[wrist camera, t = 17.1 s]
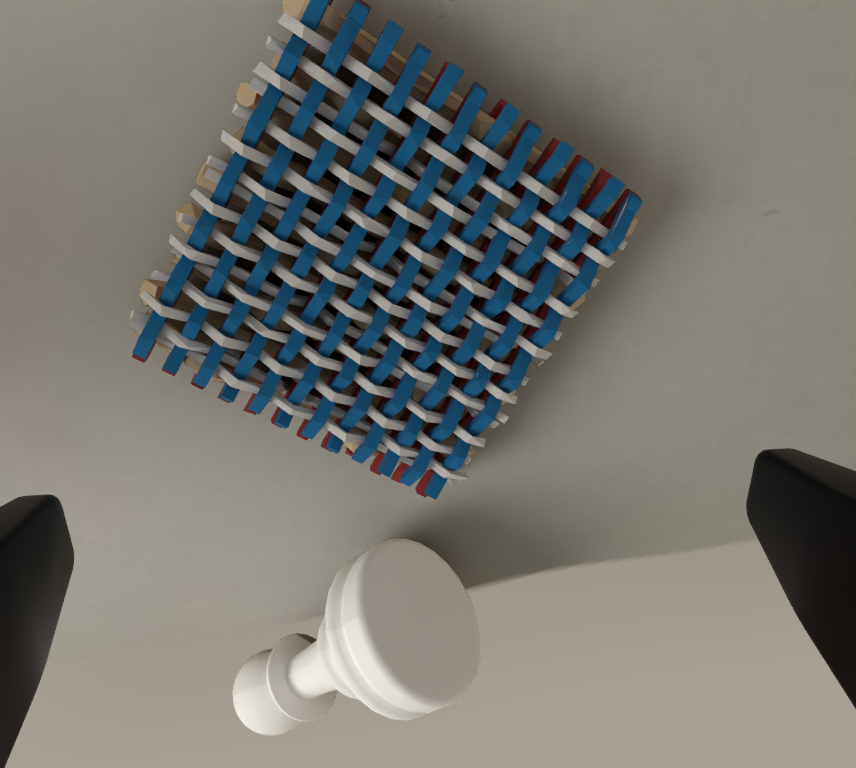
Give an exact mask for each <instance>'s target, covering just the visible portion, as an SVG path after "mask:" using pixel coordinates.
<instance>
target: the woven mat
mask: <svg viewBox="0 0 856 768" xmlns="http://www.w3.org/2000/svg"><path fill="white" fill-rule="evenodd" d="M282 1H283V10H284V14H283V15H282V16H281V18H280V19H279V20H278V23H279V24H281V25H282V26H284V27H285V28H287V29H288V30H290V31H291V32H293V33H294V34H293V35H292V37H291V39H290V40H289V42H288V44H286V43H284V42H280V41H278V40H277V39H275V38H273V37H272V36H270V35H269V36H268V39H267V42H266V45H265V47H266V48H268V49H270V50H272V51H273V52H275V55H274V57H273V59H272V62H271V64H270V68H272V69H273V70H275V71H273V70H271V69H270V68H269V67H267V66H266V65H265V64H263V63H262V62H261V61H260V62H259V64H258V65H257V66H256V68H255V69H254V70H253V72H254V73H256V74H257V75H259V76H260V77H262V78H263V79H265V80H266V81H268V82H269V84H268V85H266V84H265V83H263V82H261V81H260V80H258V79H257V78H255V77H254V76H253V78H252V80H251V82H250V84H248V83H245V82H243V81H242V83H241V85H240V87H239V90H238V92H237V94H236V99H237V101H238V103H237V102H235V105H234V108H233V111H232V113H233V114H235V115H236V116H238V117H240V118H242V119H244V120H246V121H248V123H247V125H246V128H244V127H242V128H241V129H240V130H239V131H238V132H236V133H235V134H234V135H233V136H231V135H230V134H228V133H227V132H225V131H224V130H223V129H222V134H221V141H222V142H224V143H225V144H226V145H228V146H229V147H230V152H231V153H232V154H233V156H232V158H231V160H230V162H229V163H227V162H225V161H223V160H220V159H218V158H216V157H214V156H212V155H208V158H207V160H206V161H205V163H204V165H203V166H202V168H201V170H200V172H199V174H198V177H197V180H196V184H198V185H200V186H202V187H203V188H205V189H207V190H209V191H211V192H212V193H213V195H212V197H211V199H210V200H209V199H208V198H206V197H205V196H204V195H203V194H201V193H200V192H199V191H198V190H196V189H195V188H194V190H193V191H192V192H191V194H190V196H191V197H192V198H194V199H195V200H196V201H197V202H198V203H199V204H200V205H202V206H203V207H204V208H205V209H204V211H202V210H200V209H199V208H198V207H197V206H195V205H194V204H193V203H192V202H190V203H188V204H186V205H184V206H183V207H181V208H179V209H178V210H176V211H175V212H176V221H177V225H178V226H179V227H180V228H181V229H183V230H184V231H185V232H186V233H187V234H188V235H190V238H189V241H188V243H187V244H186V243H185V242H183V241H182V240H180V239H179V238H177V237H176V236H174V235H173V234H171V236H170V239H169V243H170V244H171V245H172V246H173V248H172V249H171V251H170V252H171V253H173V254H175V256H174V258H173V260H172V263H174V264H176V267H175V269H174V270H173V272H172V273H169V272H164V271H160V270H154V272H153V273H152V274H151V275H150V277H152V278H155V279H158V280H162V281H156V280H146V279H144V281H143V283H142V286H141V288H140V291H139V294H140V297H141V299H142V301H143V304H144V305H146V306H150V307H151V308H153V309H154V310H153V312H152V314H151V313H149V312H148V311H147V312H146V313H145V314H143V313H140V312H137V311H134V310H132V312H131V315H130V317H129V318H130V319H132V322H131V324H130V325H129V327H130V328H132V329H134V330H136V332H135V333H136V334H138V335H139V339H138V341H137V343H136V346H135V348H134V350H133V353H132V354H133V355H132V357H133V358H135V359H137V360H139V361H141V362H143V363H144V362H145V361H146V360H147V359H148V357H149V355H150V353H151V351H152V349H153V347H154V345H155V344H156V345H158V346H159V347H161V348H163V349H165V350H167V351H168V352H170V355H169V357H168V358H167V360H166V362H165V364H164V366H163V368H162V370H163V371H165V372H167V373H169V374H171V375H173V376H175V374H176V373H177V371H178V369H179V367H180V365H181V363H182V361H183V362H184V363H185V364H186V365H187V366H188V367H189V368H190V369H191V370H193V371H194V372H195V375H194V377H193V379H192V381H191V383H190V384H192V385H194V386H196V387H198V388H200V389H202V390H203V388H205V387H206V385H207V384H208V382H209V381H214V382H222V383H225V385H224V387H223V389H222V390H221V392H220V394H219V396H218V398H220V399H222V400H224V401H226V402H228V403H229V402H230V403H231V402H234V400H235V398H236V396H237V394H238V392H239V390H240V389H241V390H244V391H248V392H251V393H253V395H252V396H251V398H250V400H249V402H248V403H247V405H246V407H245V408H244V410H243V411H246V412H249V413H252V414H255V415H256V414H257V413H258V414H260V413H261V411H262V410H263V409H264V407H265V406H266V405H267V403H268V402H269V401H271V402H273V403H274V404H276V405H277V406H278V408H277V410H276V411H275V413H274V415H273V417H272V418H271V422H272V423H273V424H275V425H277V426H279V427H281V428H284V429H285V428H288V427H289V424H290V422H291V419H292V417H293V416H297V417H300V418H304V419H305V420H304V421H303V423H302V425H301V426H300V428H299V429H298V432H297V435H296V436H299V437H301V438H303V439H305V440H307V439H308V438H310V439H313V438H314V437H315V435H316V434H317V433H318V432H319V431H320V430H321V429H322V427H325V428H326V429H327V430H329V432H328V433H327V435H326V436H325V438H324V440H323V441H322V444H321V447H323V448H325V449H327V450H329V451H331V452H332V451H333V452H335V453H339V452H340V449H341V447H342V445H343V443H344V444H345V445H346V446H347V450H346V452H345V453H346V454H348V455H350V456H352V458H351V459H353V460H355V461H358V462H360V463H363V462H364V461H365V460H366V459H367V458H368V457H369V456H376V458H375V459H374V461H373V463H372V464H371V466H370V471H372V472H374V473H376V474H378V475H380V474H381V473H382V474H384V475H386V476H388V477H390V476H391V474H392V472H393V470H394V468H395V466H396V464H397V463H399V464H400V465H399V466H398V467H397V469H396V470H395V472H394V473H393V475H392V477H391V479H393V480H395V481H397V482H399V483H403V484H405V485H408V486H411V485H412V484H413V483H414V482H415V481H416V480H418V479H419V478H420V477H421V476H422V475H423V477H422V479H421V480H420V482H419V483H418V485H417V486H416V488H415V489H416V492H417V494H419V495H421V496H424V497H427V495H428V496H430V497H432V498H434V499H437V497H438V495H439V494H440V492H441V490H442V488H443V486H444V485H445V483H446V481H447V482H448V483H450V484H451V485H452V486H453V485H454V484H455V482H456V481H457V480H465V479H468V476H467V475H466V474H465V473H461V472H457V471H454V470H457V469H459V468H460V467H461V465H462V464H463V463H464V464H466V465H468V464H469V463H470V461H471V460H472V458H471V457H470V456H471V455H473V454H474V453H476V451H475V449H474V446H473V445H476V446H480V447H485V441H486V439H485V438H480V437H477V436H478V435H479V434H480V433H481V432H482V431H483V430H484V429H485V428H487V427H488V426H490V427H492V428H494V429H495V428H496V427H497V426H498V425H499V424H500V423H499V422H498V421H496V420H495V418H496V419H498V420H499V421H501V422H502V423H504V424H505V423H506V421H507V420H508V418H509V417H508V416H506V415H505V414H504V413H502V412H501V411H500V410H499V408H500V406H502V405H504V404H506V403H508V402H510V403H513V404H516V401H517V398H518V397H517V396H514V395H515V392H516V389H517V388H518V386H519V385H520V383H521V384H522V385H524V386H526V384H527V382H528V381H529V379H530V378H528V377H527V376H525V373H526V371H527V368H528V366H529V363H530V361H532V362H533V363H534V365H535V366H536V367H538V366H540V365H541V364H542V363H544V361H543V359H545V360H546V359H548V358H549V357H550V356H551V355H552V354H553V353H550V352H548V351H545V350H543V349H542V348H543V347H544V346H546V345H547V344H548V343H549V342H551V341H552V340H553V339H556V340H557V341H558V340H559V338H560V336H561V335H562V332H560V331H559V330H558V328H559V325H560V322H561V320H562V317H563V315H564V316H566V317H569V318H573V317H574V316H575V315H577V314H578V313H579V312H577V311H575V309H576V308H577V307H578V306H579V305H581V304H582V303H583V302H584V301H585V300H586V298H585V294H586V292H587V290H589V288H590V286H592V287H593V288H594V287H595V286H596V285H597V283H598V282H599V281H600V280H599V279H597V278H596V277H595V275H596V272H597V271H599V270H600V269H602V268H603V266H604V267H606V268H609V267H610V266H611V265H612V264H613V263H615V261H614V260H612V259H611V258H609V257H608V255H610V254H611V253H613V252H614V251H616V249H617V248H618V249H620V250H621V251H623V249H624V248H625V246H626V245H627V243H628V242H627V241H625V240H624V238H625V237H627V236H629V235H632V234H633V232H634V229H635V227H636V225H637V222H638V219H637V218H636V217H634V216H635V213H636V212H637V210H638V209H639V207H640V206H641V204H642V200H641V198H639V196H638V195H637V194H635V193H634V192H632V191H631V190H629V189H627V188H626V190H625V191H624V192H623V194H622V195H621V196H620V198H619V199H618V200H617V202H616V203H614V202H613V201H614V200H615V199H616V198H617V196H618V195H619V193H620V192H621V190H622V189H623V187H624V186H625V184H624V183H622V182H621V181H619V180H618V179H616V178H615V177H612V175H611V174H609V173H608V172H606V171H605V170H604V169H602V168H601V169H600V171H599V172H598V174H597V176H596V177H595V179H594V181H593V182H592V184H591V186H589V185H588V184H586V181H587V179H588V178H589V176H590V174H591V173H592V171H593V170H594V167H593V165H592V164H591V163H590V162H589V161H588V160H586V159H585V158H583V157H582V156H580V155H576V157H575V158H574V160H573V161H572V163H571V164H570V166H569V167H568V169H567V170H566V169H565V168H563V166H564V165H565V164H566V162H567V160H568V159H569V157H570V156H571V154H572V153H573V151H574V150H575V149H574V148H572V147H571V146H569V145H568V144H567V143H565V142H564V141H561V142H559V141H558V140H557V139H555V138H554V137H553V139H552V140H551V142H550V143H549V144H548V146H547V147H546V149H545V150H544V152H543V153H542V152H540V151H539V150H537V149H536V148H534V145H535V143H536V141H537V139H538V138H539V137H540V135H541V134H542V129H541V128H540V127H539V126H537V125H536V124H535V123H533V122H532V121H530V120H526V122H525V123H524V125H523V127H522V128H521V130H520V131H519V133H518V134H517V135H516V134H514V133H513V132H511V131H510V130H509V129H510V128H511V126H512V125H513V123H514V122H515V120H516V118H517V117H518V115H519V114H520V112H521V111H520V110H518V109H517V108H515V107H514V106H512V105H511V104H509V103H508V102H506V101H505V100H503V99H501V100H500V101H499V102H498V104H497V105H496V106H495V107H494V109H493V110H492V111H491V112H490V114H489V115H487V114H486V113H484V112H483V111H481V110H479V109H480V107H481V105H482V104H483V102H484V100H485V98H486V96H487V93H488V91H487V90H486V89H485V88H483V87H482V86H480V85H479V84H478V83H476V82H474V83H473V85H472V87H471V88H470V90H469V92H468V93H467V95H466V96H465V98H464V99H463V98H462V97H460V96H459V95H457V94H456V93H455V92H453V91H452V90H453V88H454V87H455V85H456V84H457V82H458V80H459V79H460V77H461V76H462V74H463V72H464V71H463V70H461V69H460V68H458V67H457V66H455V65H454V64H452V63H451V62H450V63H448V62H447V61H446V62H445V64H444V66H443V68H442V69H441V71H440V73H439V74H438V76H437V78H436V79H434V78H433V77H431V76H430V75H428V74H427V73H425V72H424V71H423V70H422V69H423V67H424V65H425V63H426V61H427V59H428V57H429V55H430V53H431V51H430V50H429V49H427V48H426V47H424V46H423V45H421V44H420V43H419V42H418V43H417V45H416V47H415V48H414V50H413V52H412V54H411V55H410V57H409V59H408V60H407V59H405V58H404V57H402V56H401V55H399V54H398V53H396V52H395V51H394V50H393V48H394V46H395V45H396V43H397V41H398V39H399V38H400V36H401V34H402V32H403V31H404V29H403V28H402V27H400V26H399V25H397V24H396V23H394V22H393V21H391V20H389V21H388V23H387V25H386V26H385V28H384V30H383V32H382V34H381V35H380V37H379V39H376V38H375V37H373V36H372V35H370V34H369V33H367V32H366V31H365V30H363V29H362V28H361V27H362V25H363V23H364V21H365V19H366V17H367V15H368V13H369V11H370V9H371V7H370V6H369V5H367V4H366V3H364V2H363V1H361V0H355V2H354V4H353V6H352V8H351V10H350V12H349V14H348V15H347V17H344V16H343V15H341V14H340V13H339V12H338V11H336V10H335V9H334V8H332V7H331V4H332V2H333V0H282ZM310 44H311V45H312V46H314V47H315V48H317V49H318V50H320V51H321V52H323V53H324V54H326V57H325V59H324V61H323V63H322V65H321V67H320V66H319V65H317V64H316V63H314V62H313V61H311V60H310V59H308V58H307V57H305V56H304V55H305V53H306V51H307V49H308V47H309V45H310ZM341 65H343V66H344V67H346V68H347V69H349V70H350V71H352V72H353V73H355V74H356V75H358V76H357V78H356V80H355V82H354V83H353V85H352V87H349V86H348V85H346V84H345V83H343V82H342V81H341V80H339V79H338V78H336V77H335V76H336V74H337V72H338V70H339V68H340V66H341ZM291 82H292V83H291ZM293 83H294V84H295V85H294V84H293ZM296 85H297V86H298V87H297V86H296ZM373 86H375V87H376V88H378V89H379V90H381V91H382V92H384V93H385V94H387V95H388V96H387V98H386V100H385V101H384V103H383V105H382V107H381V106H380V105H378V104H376V103H375V102H372V101H370V100H369V99H367V96H368V95H369V93H370V91H371V89H372V87H373ZM299 87H300V88H299ZM302 89H303V90H302ZM285 93H286V94H288V95H290V96H291V97H293V98H295V99H296V100H298V101H300V102H301V103H302V104H301V106H298V105H297V104H295V103H293V102H292V101H290V100H289V99H287V98H286V97H284V96H283V95H284V94H285ZM403 106H405V107H406V108H408V109H409V110H411V111H412V112H414V113H415V116H414V118H413V119H412V121H411V123H410V124H409V125H408V124H407V123H405V122H404V121H402V120H401V119H399V118H398V117H397V115H398V114H399V113H400V111H401V109H402V108H403ZM316 112H318V113H319V114H321V115H322V116H324V117H326V118H327V119H329V120H330V121H332V123H331V125H330V127H329V126H328V125H326V124H325V123H323V122H322V121H320V120H319V119H317V118H316V117H315V116H314V115H315V113H316ZM431 125H433V126H435V127H436V128H438V129H439V130H441V131H442V132H443V134H442V135H441V137H440V139H439V140H438V142H437V143H436V142H434V141H433V140H431V139H430V138H428V137H427V134H428V132H429V129H430V127H431ZM347 131H348V132H350V133H351V134H353V135H354V136H356V137H358V138H359V139H361V140H362V142H361V144H358V143H356V142H354V141H352V140H350V139H349V138H347V137H345V135H346V133H347ZM264 132H266V133H268V134H269V135H271V136H272V137H274V138H275V139H276V140H278V141H279V142H281V143H280V145H279V147H278V149H277V150H276V152H275V151H274V150H273V149H271V148H270V147H269V146H267V145H266V144H265V143H263V142H262V141H261V138H262V136H263V134H264ZM461 144H462V145H463V146H465V147H466V148H468V150H467V152H466V155H465V157H464V160H462V159H460V158H459V157H457V156H456V155H454V154H455V152H456V151H457V150H458V149H459V148H460V146H461ZM378 150H379V151H381V152H383V153H385V154H387V155H389V156H391V157H390V159H389V161H388V162H386V161H385V160H383V159H382V158H380V157H379V156H377V155H376V153H377V151H378ZM295 152H297V153H299V154H301V155H303V156H305V157H307V158H309V159H311V162H310V164H309V166H308V168H307V167H306V166H304V165H302V164H299V163H297V162H294V161H291V158H292V156H293V155H294V153H295ZM487 161H488V162H489V163H490V164H492V165H493V166H495V167H496V168H495V170H494V172H493V173H492V175H491V176H490V178H489V177H488V176H486V175H484V174H483V172H484V170H485V167H486V164H487ZM247 165H249V166H250V167H251V168H253V169H254V170H255V171H257V172H258V173H259V174H261V175H262V176H263V177H262V179H261V181H260V183H259V184H258V183H257V182H256V181H254V180H253V179H252V178H250V177H249V176H248V175H246V174H245V173H244V171H245V169H246V167H247ZM405 166H406V167H407V168H409V169H410V170H411V171H413V172H414V173H415V174H414V176H413V177H410V176H408V175H407V174H405V173H403V170H404V168H405ZM344 168H345V169H344ZM327 169H328V170H329V171H331V172H332V173H333V174H335V175H336V176H337V177H339V178H340V181H339V183H338V184H337V185H335V184H334V183H332V182H330V181H329V180H327V179H326V178H324V177H322V176H323V175H324V173H325V172H326V170H327ZM516 181H517V182H519V183H520V184H519V185H518V186H517V187H516V188H515V189H514V190H513V191H512V192H510V191H508V190H509V189H510V188H511V187H512V186H513V185H514V184H515V182H516ZM277 186H278V187H281V188H283V189H286V190H289V191H292V192H294V193H293V195H292V197H291V199H289V198H287V197H284V196H282V195H280V194H277V193H275V192H274V191H275V189H276V187H277ZM435 187H437V188H438V189H440V190H441V191H443V192H444V193H443V195H442V197H441V196H439V195H438V194H437V193H435V192H434V191H433V190H434V188H435ZM354 188H356V189H358V190H360V191H362V192H364V193H367V194H369V195H368V197H367V199H366V200H365V202H363V201H362V200H360V199H358V198H357V197H355V196H354V195H352V192H353V190H354ZM540 197H542V198H543V199H545V200H546V202H545V203H544V205H543V206H542V208H541V209H540V211H539V210H537V209H536V208H537V207H538V203H539V200H540ZM473 198H474V199H473ZM309 199H311V200H313V201H315V202H317V203H318V204H320V205H322V206H323V207H324V209H323V211H322V213H321V214H320V215H318V214H316V213H315V212H313V211H311V210H309V209H308V208H306V207H305V206H306V205H307V203H308V201H309ZM229 202H230V203H232V204H234V205H235V206H237V207H239V208H241V209H242V210H244V213H243V215H242V214H239V213H236V212H234V211H231V210H229V209H226V208H227V206H228V203H229ZM459 203H461V204H463V205H464V206H466V207H467V208H469V210H468V212H467V213H466V212H464V211H462V210H460V209H459V208H457V207H458V205H459ZM385 205H386V206H388V207H389V208H391V209H392V210H393V211H394V213H393V215H392V217H391V218H390V217H388V216H387V215H385V214H383V213H382V212H380V211H381V210H382V208H383V207H384V206H385ZM568 215H569V216H570V218H569V220H568V221H567V223H566V224H565V225H564V226H562V225H561V224H560V223H561V222H562V221H563V220H565V219H566V218H567V217H568ZM339 217H342V218H344V219H345V220H347V221H349V222H350V223H351V224H350V226H349V227H348V229H347V230H346V231H345V230H343V229H342V228H340V227H338V226H337V225H335V223H336V221H337V220H338V218H339ZM221 218H222V219H225V220H228V221H231V222H234V223H236V224H238V225H237V226H235V225H233V224H229V223H226V222H222V221H220V220H221ZM259 219H260V220H262V221H264V222H265V223H267V224H269V225H271V226H272V227H274V230H273V232H272V234H271V233H269V232H268V231H267V230H265V229H264V228H263V227H261V226H260V225H259V224H258V223H257V222H258V220H259ZM489 222H490V223H492V224H491V226H488V224H489ZM410 223H414V224H416V225H418V226H420V227H422V230H421V232H420V233H419V235H418V234H416V233H415V232H413V231H411V230H410V229H408V227H409V225H410ZM519 228H520V229H522V230H523V231H522V230H520V229H519ZM590 230H591V231H593V232H594V233H593V234H592V235H591V237H590V238H589V239H588V241H586V240H587V238H588V234H589V231H590ZM524 231H525V232H524ZM252 232H253V233H254V234H255V235H257V236H258V237H259V238H260V239H262V240H263V241H264V242H263V241H262V240H260V239H258V238H256V237H254V236H253V235H251V233H252ZM366 233H369V234H371V235H372V236H374V237H376V238H377V239H378V241H377V243H372V242H367V241H363V239H364V237H365V235H366ZM333 235H334V236H335V237H337V238H339V239H340V241H339V240H338V239H336V238H335V237H334V236H333ZM289 236H290V237H292V238H294V239H295V240H297V241H299V242H301V243H302V244H303V246H302V248H301V247H298V246H295V245H292V244H290V243H287V242H286V241H287V239H288V237H289ZM511 236H512V237H514V238H515V239H517V240H519V242H518V243H517V242H516V241H514V240H512V239H510V238H511ZM440 239H442V240H444V241H445V242H444V243H443V244H442V245H441V246H440V248H439V249H438V248H437V247H436V246H435V245H436V244H437V243H438V242H439V241H440ZM206 246H209V247H212V248H216V249H219V250H223V251H224V252H223V254H222V256H221V258H220V257H217V256H213V255H210V254H207V253H203V251H204V250H205V248H206ZM358 249H360V250H358ZM361 250H363V251H361ZM396 250H398V251H399V252H401V253H403V254H404V255H405V257H404V258H403V260H402V261H400V260H399V259H397V258H396V257H395V256H394V255H393V254H394V252H395V251H396ZM364 251H367V252H370V254H367V253H366V252H364ZM283 252H284V253H283ZM285 253H287V254H290V255H293V256H296V258H295V259H294V258H292V257H290V256H288V255H287V254H285ZM316 255H317V256H318V257H319V258H320V259H319V258H318V257H317V256H316ZM464 255H465V256H467V257H469V258H472V259H473V260H472V261H471V263H470V264H469V265H467V264H466V263H464V262H462V259H463V256H464ZM238 257H242V258H244V259H246V260H248V261H250V262H251V263H253V264H255V265H254V267H253V269H252V271H251V272H248V271H246V270H244V269H243V268H241V267H239V266H237V265H235V263H236V261H237V259H238ZM322 260H323V261H324V262H325V263H324V262H323V261H322ZM571 261H572V262H571ZM386 263H387V264H388V265H389V266H388V265H386ZM311 266H312V267H313V268H315V269H316V270H317V271H319V272H320V273H319V272H317V271H315V270H313V269H312V268H310V267H311ZM391 267H392V268H391ZM420 267H421V268H422V269H423V270H425V271H426V273H425V275H424V276H423V275H422V274H420V273H418V271H419V269H420ZM494 271H495V272H496V273H497V275H496V276H495V278H494V279H491V278H489V276H490V275H491V274H492V273H493V272H494ZM269 272H270V273H271V274H273V275H275V276H277V277H279V278H281V279H282V282H281V283H280V285H279V287H278V286H276V285H274V284H272V283H270V282H268V281H266V280H265V279H266V277H267V275H268V274H269ZM342 273H345V274H348V275H352V276H355V277H356V278H355V279H354V278H351V277H348V276H346V275H343V274H342ZM191 274H193V275H195V276H197V277H199V278H200V279H202V280H204V281H206V282H207V285H206V287H205V288H204V290H203V292H201V291H200V290H199V289H197V288H196V287H195V286H194V285H192V284H191V283H190V282H189V281H188V280H189V278H190V276H191ZM340 284H341V285H340ZM342 285H344V286H347V287H350V288H349V289H347V288H346V287H344V286H342ZM373 285H375V286H377V287H379V288H381V289H382V290H383V291H382V292H381V293H378V292H377V291H376V290H375V289H373V288H372V287H373ZM447 285H451V286H454V289H453V290H452V292H451V293H450V292H448V291H447V290H445V289H444V288H445V287H446V286H447ZM515 286H516V287H518V288H520V291H519V292H518V294H516V293H514V288H515ZM297 288H298V289H301V290H303V291H304V292H306V293H308V294H310V297H307V296H302V295H296V294H294V293H295V291H296V289H297ZM221 290H222V291H223V292H225V293H227V294H229V295H230V296H232V297H234V298H236V300H235V302H234V304H230V303H227V302H224V301H220V300H217V299H216V298H217V297H218V295H219V293H220V291H221ZM270 295H271V296H272V297H271V296H270ZM474 296H476V297H478V298H480V300H479V302H478V303H477V305H476V306H475V308H473V307H471V306H470V303H471V301H472V299H473V297H474ZM367 297H369V298H370V299H371V300H372V301H373V303H372V304H371V305H370V304H369V303H368V302H367V301H366V299H367ZM400 300H402V301H404V302H405V303H407V304H409V305H408V307H407V308H406V309H405V308H403V307H400V306H397V305H396V304H397V303H398V302H399V301H400ZM326 304H328V305H330V306H332V307H334V308H335V309H336V311H335V313H334V314H333V315H332V314H331V313H330V312H329V311H328V310H326V309H325V308H324V306H325V305H326ZM299 306H301V307H303V308H301V307H299ZM248 311H250V312H251V313H252V314H253V315H254V316H256V317H257V318H258V319H259V321H258V320H257V319H256V318H254V317H253V316H252V315H251V314H249V313H248ZM502 311H503V313H502V314H501V315H500V316H499V317H498V318H497V319H496V320H495V321H494V322H493V321H492V320H491V319H492V318H493V317H494V316H496V315H497V314H499V313H500V312H502ZM317 315H318V316H319V317H320V318H319V317H318V316H317ZM395 315H396V316H395ZM426 315H428V316H430V317H432V318H433V319H434V320H433V321H432V323H431V322H430V321H429V320H427V319H426ZM397 316H399V317H401V318H399V317H397ZM168 318H172V319H176V320H181V321H185V322H186V324H185V326H184V328H183V330H180V329H179V328H177V327H175V326H173V325H171V324H170V323H168V322H167V320H168ZM350 321H351V322H352V323H354V324H355V325H356V326H357V328H354V327H352V326H350V325H349V323H350ZM524 323H525V324H526V325H528V327H527V328H526V329H525V331H524V332H523V334H522V335H519V333H520V331H521V329H522V327H523V325H524ZM421 327H422V328H423V329H424V330H425V331H426V332H424V331H422V330H420V328H421ZM200 329H201V330H202V331H204V332H205V333H206V334H207V335H208V336H209V337H211V338H212V339H213V342H212V344H211V345H210V344H206V343H202V342H198V341H197V340H196V339H195V338H196V336H197V334H198V332H199V330H200ZM273 329H278V330H285V331H289V333H288V334H287V333H283V332H278V331H274V330H273ZM452 330H454V331H456V332H458V333H457V335H456V336H455V337H454V336H451V335H449V333H450V332H451V331H452ZM306 337H309V338H310V339H312V340H314V341H316V342H317V343H316V344H315V346H314V347H313V348H311V347H310V346H309V345H307V344H306V343H305V342H304V341H305V339H306ZM379 338H384V339H387V341H386V342H385V344H383V343H382V342H380V341H379V340H378V339H379ZM447 344H449V346H448V345H447ZM404 347H405V348H406V349H410V350H412V351H413V352H412V353H411V355H410V356H409V358H408V360H407V361H406V360H405V359H404V358H402V357H401V354H402V351H403V349H404ZM227 348H232V349H236V350H241V351H243V352H242V354H241V356H240V358H237V357H235V356H233V355H231V354H229V353H227V352H225V351H226V349H227ZM333 351H335V352H337V353H339V354H341V355H343V357H342V359H341V360H340V361H337V360H333V359H330V358H328V357H329V356H330V354H331V353H332V352H333ZM300 352H301V353H302V354H303V355H304V356H305V357H304V356H303V355H302V354H301V353H300ZM258 359H260V360H261V361H262V362H263V363H264V364H265V365H267V366H268V367H269V368H268V369H267V371H266V372H264V371H262V370H260V369H258V368H256V367H254V365H255V363H256V362H257V360H258ZM498 360H499V361H502V363H499V362H497V361H498ZM433 362H434V363H435V364H434V365H433V366H432V367H431V368H430V369H429V370H428V371H427V372H424V371H425V370H426V369H427V368H428V367H429V366H431V365H432V364H433ZM359 365H362V366H364V367H365V368H367V369H368V370H367V372H366V374H365V375H364V376H363V375H362V374H361V373H360V372H359V371H358V367H359ZM494 371H495V372H494ZM282 375H283V376H288V377H291V378H292V379H293V380H292V382H291V385H290V384H288V383H286V382H284V381H282V380H280V379H281V377H282ZM455 375H456V376H457V377H460V379H459V380H458V381H457V383H456V384H455V386H454V385H453V384H451V383H452V381H453V378H454V376H455ZM385 379H388V380H390V381H392V382H393V383H392V384H391V386H390V387H389V388H388V387H383V386H379V385H380V384H381V383H382V382H383V381H384V380H385ZM312 388H316V389H317V390H318V391H319V392H320V395H319V397H316V396H313V395H311V394H308V393H309V392H310V391H311V389H312ZM480 392H481V394H480V395H479V397H478V398H474V397H475V396H476V395H478V394H479V393H480ZM410 397H411V398H410ZM335 403H341V404H345V407H344V408H343V410H342V409H340V408H338V407H336V406H334V405H335ZM433 408H435V409H438V410H437V412H431V410H432V409H433ZM365 414H367V415H369V416H368V417H367V418H366V419H365V420H362V419H361V418H362V417H363V416H364V415H365ZM461 417H463V418H462V419H461V420H460V418H461ZM459 420H460V421H459ZM386 428H388V429H393V431H392V432H391V434H386V433H385V430H386ZM415 439H417V440H416V442H415V443H414V445H412V444H413V442H414V441H415ZM435 451H436V453H435V456H434V455H433V454H434V452H435Z"/></svg>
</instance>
